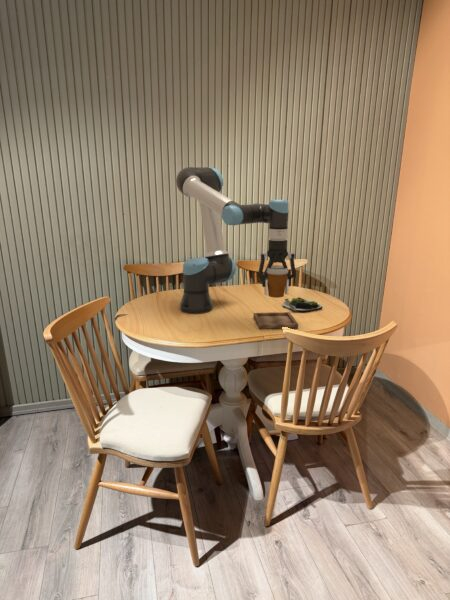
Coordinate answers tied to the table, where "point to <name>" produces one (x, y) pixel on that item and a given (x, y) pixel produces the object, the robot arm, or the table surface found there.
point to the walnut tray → (275, 320)
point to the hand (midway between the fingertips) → (276, 294)
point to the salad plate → (301, 305)
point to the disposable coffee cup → (276, 280)
